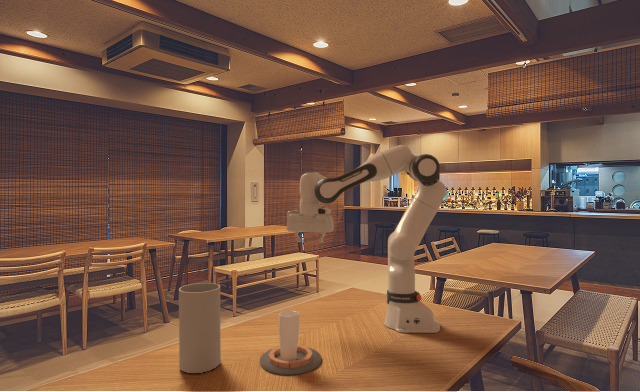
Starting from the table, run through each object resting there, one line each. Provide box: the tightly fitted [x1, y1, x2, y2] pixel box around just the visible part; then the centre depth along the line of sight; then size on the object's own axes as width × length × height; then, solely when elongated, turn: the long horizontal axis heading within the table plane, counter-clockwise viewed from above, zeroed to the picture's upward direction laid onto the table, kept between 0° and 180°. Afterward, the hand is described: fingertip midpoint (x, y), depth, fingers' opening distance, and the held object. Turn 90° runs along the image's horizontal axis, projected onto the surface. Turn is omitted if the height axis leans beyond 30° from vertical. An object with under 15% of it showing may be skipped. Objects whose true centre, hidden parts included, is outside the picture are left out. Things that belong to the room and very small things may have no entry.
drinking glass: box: [277, 309, 300, 361], centre depth 121 cm, size 7×7×15 cm
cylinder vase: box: [178, 282, 222, 374], centre depth 118 cm, size 12×12×25 cm
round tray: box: [259, 344, 322, 376], centre depth 122 cm, size 20×20×2 cm
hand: (310, 242), depth 158 cm, fingers open, 8 cm apart
